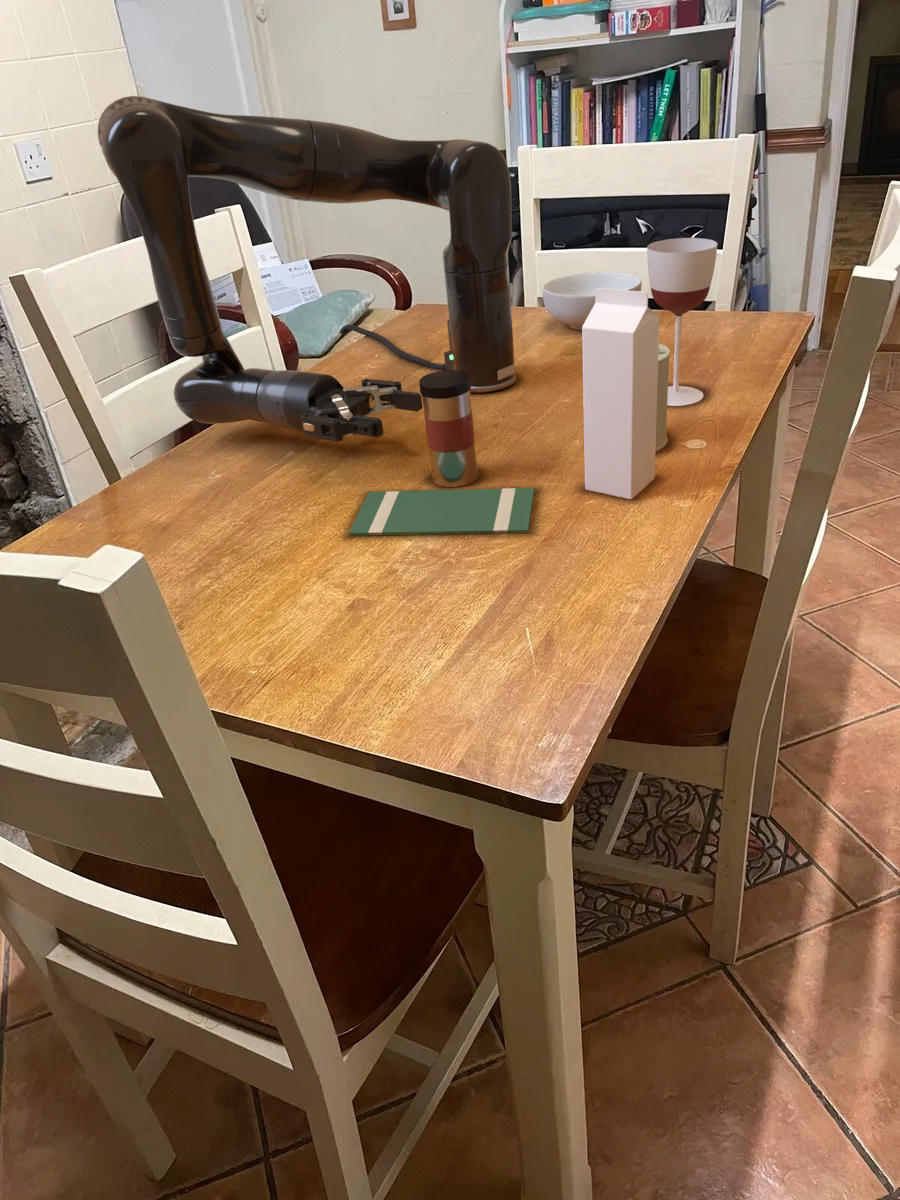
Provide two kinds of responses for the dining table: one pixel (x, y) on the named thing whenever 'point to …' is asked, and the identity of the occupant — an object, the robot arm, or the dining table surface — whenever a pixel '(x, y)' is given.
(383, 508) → the towel
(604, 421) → the milk
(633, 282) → the cereal bowl
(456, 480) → the jar
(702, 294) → the wineglass
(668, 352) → the can
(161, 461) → the dining table surface
